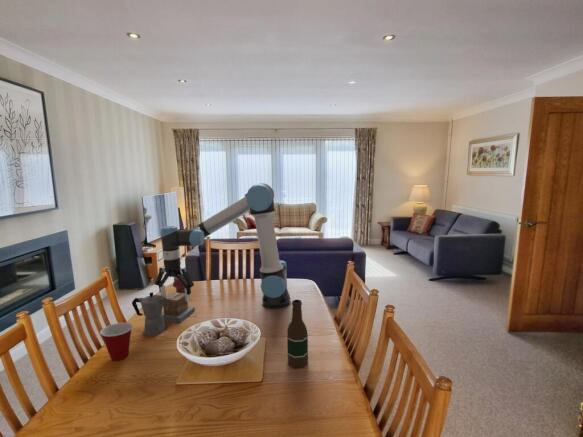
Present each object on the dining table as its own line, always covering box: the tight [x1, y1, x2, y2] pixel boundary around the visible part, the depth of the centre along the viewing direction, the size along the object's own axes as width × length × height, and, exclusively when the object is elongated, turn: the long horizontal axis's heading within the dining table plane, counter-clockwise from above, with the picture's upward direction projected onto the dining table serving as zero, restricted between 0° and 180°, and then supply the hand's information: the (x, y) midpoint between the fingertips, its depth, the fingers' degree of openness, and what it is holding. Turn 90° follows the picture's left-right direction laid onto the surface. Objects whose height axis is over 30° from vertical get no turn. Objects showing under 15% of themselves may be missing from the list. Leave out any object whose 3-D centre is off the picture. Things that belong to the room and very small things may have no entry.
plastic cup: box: [99, 322, 134, 362], centre depth 111 cm, size 11×11×12 cm
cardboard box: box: [162, 291, 189, 316], centre depth 143 cm, size 8×8×8 cm
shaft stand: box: [162, 306, 196, 323], centre depth 144 cm, size 13×12×8 cm
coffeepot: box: [131, 292, 167, 337], centre depth 129 cm, size 15×9×18 cm, turn 92°
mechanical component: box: [172, 275, 188, 293], centre depth 167 cm, size 12×10×10 cm
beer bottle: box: [286, 299, 309, 369], centre depth 105 cm, size 8×8×24 cm
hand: (175, 299), depth 143 cm, fingers open, 13 cm apart
